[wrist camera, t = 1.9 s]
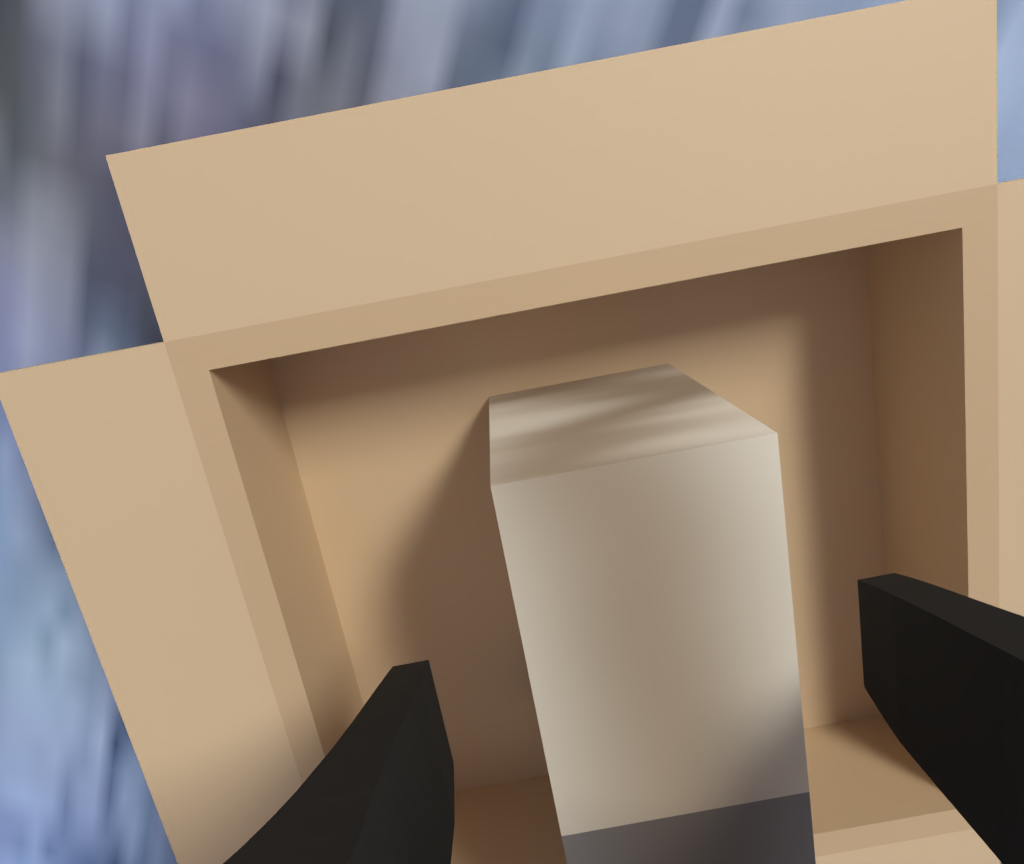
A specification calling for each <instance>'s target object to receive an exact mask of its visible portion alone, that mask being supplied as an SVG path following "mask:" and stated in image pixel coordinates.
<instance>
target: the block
mask: <svg viewBox="0 0 1024 864" xmlns="http://www.w3.org/2000/svg"><path fill="white" fill-rule="evenodd" d="M489 427H490V487H491V492H492V496H493V501H494V506H495V511H496V516H497V521H498V526H499V531H500V536H501V541H502V546H503V551H504V556H505V560H506V565H507V570H508V575H509V580H510V585H511V590H512V595H513V600H514V605H515V610H516V615H517V620H518V624H519V629H520V634H521V639H522V644H523V649H524V654H525V659H526V664H527V669H528V674H529V679H530V684H531V689H532V693H533V698H534V703H535V708H536V713H537V718H538V723H539V728H540V733H541V738H542V743H543V748H544V753H545V757H546V762H547V767H548V772H549V777H550V782H551V787H552V792H553V797H554V802H555V807H556V812H557V817H558V821H559V826H560V831H561V836H562V841H563V846H564V851H565V856H566V861H567V864H816V861H815V849H814V838H813V827H812V816H811V804H810V793H809V782H808V771H807V759H806V748H805V737H804V726H803V714H802V703H801V692H800V681H799V669H798V658H797V647H796V636H795V624H794V613H793V602H792V591H791V579H790V568H789V557H788V546H787V534H786V523H785V512H784V501H783V489H782V478H781V467H780V456H779V444H778V433H777V432H775V431H773V430H772V429H770V428H769V427H767V426H766V425H764V424H763V423H761V422H759V421H758V420H756V419H755V418H753V417H752V416H750V415H748V414H747V413H745V412H744V411H742V410H741V409H739V408H738V407H736V406H734V405H733V404H731V403H730V402H728V401H727V400H725V399H723V398H722V397H720V396H719V395H717V394H716V393H714V392H713V391H711V390H709V389H708V388H706V387H705V386H703V385H702V384H700V383H698V382H697V381H695V380H694V379H692V378H691V377H689V376H687V375H686V374H684V373H683V372H681V371H680V370H678V369H677V368H675V367H673V366H672V365H670V364H669V363H666V364H661V365H656V366H650V367H645V368H640V369H634V370H629V371H624V372H619V373H613V374H608V375H603V376H597V377H592V378H587V379H581V380H576V381H571V382H565V383H560V384H555V385H549V386H544V387H539V388H533V389H528V390H523V391H517V392H512V393H507V394H501V395H496V396H491V397H489Z"/></svg>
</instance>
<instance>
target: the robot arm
mask: <svg viewBox="0 0 1024 864" xmlns="http://www.w3.org/2000/svg"><path fill="white" fill-rule="evenodd" d="M857 581H858V597H859V613H860V629H861V645H862V662H863V678H864V687H865V689H866V691H867V692H868V694H869V695H870V697H871V699H872V700H873V702H874V703H875V705H876V707H877V708H878V710H879V711H880V713H881V715H882V716H883V718H884V719H885V721H886V722H887V724H888V725H889V727H890V728H891V730H892V731H893V733H894V734H895V736H896V737H897V739H898V740H899V742H900V743H901V744H902V745H903V746H904V748H905V749H906V750H907V751H908V753H909V754H910V755H911V756H912V757H913V759H914V760H915V761H916V762H917V763H918V765H919V766H920V767H921V768H922V769H923V771H924V772H925V773H926V774H927V775H928V777H929V778H930V779H931V780H932V781H933V783H934V784H935V785H936V786H937V787H938V788H939V790H940V791H941V792H942V793H943V794H944V795H945V797H946V798H947V799H948V800H949V801H950V803H951V804H952V805H953V806H954V807H955V808H956V810H957V811H958V812H959V813H960V814H961V815H962V817H963V818H964V819H965V820H966V821H967V822H968V824H969V825H970V826H971V827H972V828H973V830H974V831H975V832H976V833H977V834H978V835H979V837H980V838H981V839H982V840H983V841H984V842H985V844H986V845H987V846H988V847H989V848H990V850H991V851H992V852H993V853H994V854H995V855H996V857H997V858H998V859H999V860H1000V861H1001V862H1002V864H1024V616H1021V615H1018V614H1015V613H1012V612H1009V611H1006V610H1004V609H1001V608H998V607H995V606H992V605H989V604H987V603H984V602H981V601H978V600H975V599H973V598H970V597H967V596H964V595H961V594H958V593H956V592H953V591H950V590H947V589H944V588H942V587H939V586H936V585H933V584H930V583H927V582H924V581H921V580H918V579H914V578H911V577H908V576H904V575H900V574H896V573H891V574H886V575H881V576H875V577H870V578H864V579H859V580H857ZM454 825H455V800H454V762H453V758H452V754H451V750H450V746H449V741H448V737H447V733H446V729H445V725H444V721H443V717H442V713H441V709H440V705H439V700H438V696H437V692H436V688H435V684H434V680H433V676H432V672H431V668H430V664H429V660H425V661H419V662H414V663H409V664H403V665H398V666H393V667H392V668H391V669H390V671H389V672H388V673H387V675H386V676H385V677H384V679H383V680H382V681H381V683H380V684H379V686H378V687H377V688H376V690H375V691H374V692H373V694H372V695H371V697H370V698H369V699H368V701H367V702H366V704H365V705H364V706H363V708H362V709H361V710H360V712H359V713H358V715H357V716H356V717H355V719H354V720H353V722H352V723H351V724H350V725H349V727H348V728H347V729H346V731H345V732H344V733H343V735H342V736H341V737H340V739H339V740H338V741H337V743H336V744H335V745H334V747H333V748H332V749H331V750H330V752H329V753H328V754H327V755H326V756H325V757H324V759H323V760H322V761H321V762H320V763H319V765H318V766H317V767H316V768H315V769H314V771H313V772H312V773H311V774H310V775H309V777H308V778H307V779H306V780H305V781H304V783H303V784H302V785H301V786H300V787H299V789H298V790H297V791H296V792H295V793H294V794H293V795H292V796H291V797H290V799H289V800H288V801H287V802H286V803H285V804H284V805H283V806H282V807H281V808H280V809H279V810H278V811H277V812H276V813H275V815H274V816H273V817H272V818H271V819H270V820H269V821H268V822H267V823H266V824H265V825H264V826H263V827H262V828H261V829H260V830H259V831H257V832H256V833H255V834H254V835H253V836H252V837H251V838H250V839H249V840H248V841H247V842H246V843H245V844H244V845H243V846H242V847H241V848H240V849H239V850H238V851H237V852H236V853H234V854H233V855H232V856H231V857H230V858H229V859H228V860H226V861H225V862H224V863H223V864H451V856H452V846H453V836H454Z"/></svg>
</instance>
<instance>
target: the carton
mask: <svg viewBox="0 0 1024 864" xmlns="http://www.w3.org/2000/svg"><path fill="white" fill-rule="evenodd" d="M106 159H107V162H108V165H109V168H110V172H111V175H112V178H113V181H114V184H115V188H116V191H117V194H118V197H119V200H120V204H121V207H122V210H123V213H124V216H125V220H126V223H127V226H128V229H129V232H130V236H131V239H132V242H133V245H134V248H135V252H136V255H137V258H138V261H139V264H140V267H141V271H142V274H143V277H144V280H145V283H146V287H147V290H148V293H149V296H150V299H151V303H152V306H153V309H154V312H155V315H156V319H157V322H158V325H159V328H160V331H161V335H162V338H163V342H158V343H153V344H147V345H142V346H137V347H132V348H126V349H121V350H116V351H110V352H105V353H100V354H95V355H89V356H84V357H79V358H74V359H68V360H63V361H58V362H53V363H47V364H42V365H37V366H32V367H26V368H21V369H16V370H10V371H5V372H1V373H0V400H1V402H2V405H3V408H4V410H5V413H6V416H7V418H8V421H9V423H10V426H11V429H12V431H13V434H14V436H15V439H16V442H17V444H18V447H19V450H20V452H21V455H22V457H23V460H24V463H25V465H26V468H27V471H28V473H29V476H30V478H31V481H32V484H33V486H34V489H35V491H36V494H37V497H38V499H39V502H40V505H41V507H42V510H43V512H44V515H45V518H46V520H47V523H48V526H49V528H50V531H51V533H52V536H53V539H54V541H55V544H56V546H57V549H58V552H59V554H60V557H61V560H62V562H63V565H64V567H65V570H66V573H67V575H68V578H69V580H70V583H71V586H72V588H73V591H74V594H75V596H76V599H77V601H78V604H79V607H80V609H81V612H82V615H83V617H84V620H85V622H86V625H87V628H88V630H89V633H90V635H91V638H92V641H93V643H94V646H95V649H96V651H97V654H98V656H99V659H100V662H101V664H102V667H103V670H104V672H105V675H106V677H107V680H108V683H109V685H110V688H111V690H112V693H113V696H114V698H115V701H116V704H117V706H118V709H119V711H120V714H121V717H122V719H123V722H124V725H125V727H126V730H127V732H128V735H129V738H130V740H131V743H132V745H133V748H134V751H135V753H136V756H137V759H138V761H139V764H140V766H141V769H142V772H143V774H144V777H145V780H146V782H147V785H148V787H149V790H150V793H151V795H152V798H153V800H154V803H155V806H156V808H157V811H158V814H159V816H160V819H161V821H162V824H163V827H164V829H165V832H166V835H167V837H168V840H169V842H170V845H171V848H172V850H173V853H174V855H175V858H176V861H177V863H178V864H223V863H224V862H225V861H226V860H228V859H229V858H230V857H231V856H232V855H233V854H234V853H236V852H237V851H238V850H239V849H240V848H241V847H242V846H243V845H244V844H245V843H246V842H247V841H248V840H249V839H250V838H251V837H252V836H253V835H254V834H255V833H256V832H257V831H259V830H260V829H261V828H262V827H263V826H264V825H265V824H266V823H267V822H268V821H269V820H270V819H271V818H272V817H273V816H274V815H275V813H276V812H277V811H278V810H279V809H280V808H281V807H282V806H283V805H284V804H285V803H286V802H287V801H288V800H289V799H290V797H291V796H292V795H293V794H294V793H295V792H296V791H297V790H298V789H299V787H300V786H301V785H302V784H303V783H304V781H305V780H306V779H307V778H308V777H309V775H310V774H311V773H312V772H313V771H314V769H315V768H316V767H317V766H318V765H319V763H320V762H321V761H322V760H323V759H324V757H325V756H326V755H327V754H328V753H329V752H330V750H331V749H332V748H333V747H334V745H335V744H336V743H337V741H338V740H339V739H340V737H341V736H342V735H343V733H344V732H345V731H346V729H347V728H348V727H349V725H350V724H351V723H352V722H353V720H354V719H355V717H356V716H357V715H358V713H359V712H360V710H361V709H362V708H363V706H364V705H365V704H366V702H367V701H368V699H369V698H370V697H371V695H372V694H373V692H374V691H375V690H376V688H377V687H378V686H379V684H380V683H381V681H382V680H383V679H384V677H385V676H386V675H387V673H388V672H389V671H390V669H391V668H392V667H393V666H398V665H403V664H409V663H414V662H419V661H425V660H429V664H430V668H431V672H432V676H433V680H434V684H435V688H436V692H437V696H438V700H439V705H440V709H441V713H442V717H443V721H444V725H445V729H446V733H447V737H448V741H449V746H450V750H451V754H452V758H453V762H454V800H455V825H454V836H453V846H452V856H451V864H567V861H566V856H565V851H564V846H563V841H562V836H561V831H560V826H559V821H558V817H557V812H556V807H555V802H554V797H553V792H552V787H551V782H550V777H549V772H548V767H547V762H546V757H545V753H544V748H543V743H542V738H541V733H540V728H539V723H538V718H537V713H536V708H535V703H534V698H533V693H532V689H531V684H530V679H529V674H528V669H527V664H526V659H525V654H524V649H523V644H522V639H521V634H520V629H519V624H518V620H517V615H516V610H515V605H514V600H513V595H512V590H511V585H510V580H509V575H508V570H507V565H506V560H505V556H504V551H503V546H502V541H501V536H500V531H499V526H498V521H497V516H496V511H495V506H494V501H493V496H492V492H491V487H490V427H489V397H491V396H496V395H501V394H507V393H512V392H517V391H523V390H528V389H533V388H539V387H544V386H549V385H555V384H560V383H565V382H571V381H576V380H581V379H587V378H592V377H597V376H603V375H608V374H613V373H619V372H624V371H629V370H634V369H640V368H645V367H650V366H656V365H661V364H666V363H669V364H670V365H672V366H673V367H675V368H677V369H678V370H680V371H681V372H683V373H684V374H686V375H687V376H689V377H691V378H692V379H694V380H695V381H697V382H698V383H700V384H702V385H703V386H705V387H706V388H708V389H709V390H711V391H713V392H714V393H716V394H717V395H719V396H720V397H722V398H723V399H725V400H727V401H728V402H730V403H731V404H733V405H734V406H736V407H738V408H739V409H741V410H742V411H744V412H745V413H747V414H748V415H750V416H752V417H753V418H755V419H756V420H758V421H759V422H761V423H763V424H764V425H766V426H767V427H769V428H770V429H772V430H773V431H775V432H777V433H778V444H779V456H780V467H781V478H782V489H783V501H784V512H785V523H786V534H787V546H788V557H789V568H790V579H791V591H792V602H793V613H794V624H795V636H796V647H797V658H798V669H799V681H800V692H801V703H802V714H803V726H804V737H805V748H806V759H807V771H808V782H809V793H810V804H811V816H812V827H813V838H814V849H815V861H816V864H1000V860H999V859H998V858H997V857H996V855H995V854H994V853H993V852H992V851H991V850H990V848H989V847H988V846H987V845H986V844H985V842H984V841H983V840H982V839H981V838H980V837H979V835H978V834H977V833H976V832H975V831H974V830H973V828H972V827H971V826H970V825H969V824H968V822H967V821H966V820H965V819H964V818H963V817H962V815H961V814H960V813H959V812H958V811H957V810H956V808H955V807H954V806H953V805H952V804H951V803H950V801H949V800H948V799H947V798H946V797H945V795H944V794H943V793H942V792H941V791H940V790H939V788H938V787H937V786H936V785H935V784H934V783H933V781H932V780H931V779H930V778H929V777H928V775H927V774H926V773H925V772H924V771H923V769H922V768H921V767H920V766H919V765H918V763H917V762H916V761H915V760H914V759H913V757H912V756H911V755H910V754H909V753H908V751H907V750H906V749H905V748H904V746H903V745H902V744H901V743H900V742H899V740H898V739H897V737H896V736H895V734H894V733H893V731H892V730H891V728H890V727H889V725H888V724H887V722H886V721H885V719H884V718H883V716H882V715H881V713H880V711H879V710H878V708H877V707H876V705H875V703H874V702H873V700H872V699H871V697H870V695H869V694H868V692H867V691H866V689H865V687H864V678H863V662H862V645H861V629H860V613H859V597H858V581H857V580H859V579H864V578H870V577H875V576H881V575H886V574H891V573H896V574H900V575H904V576H908V577H911V578H914V579H918V580H921V581H924V582H927V583H930V584H933V585H936V586H939V587H942V588H944V589H947V590H950V591H953V592H956V593H958V594H961V595H964V596H967V597H970V598H973V599H975V600H978V601H981V602H984V603H987V604H989V605H992V606H995V607H998V608H1001V609H1004V610H1006V611H1009V612H1012V613H1015V614H1018V615H1021V616H1024V178H1021V179H1016V180H1011V181H1005V182H1000V183H997V0H907V1H902V2H897V3H891V4H886V5H881V6H876V7H871V8H866V9H860V10H855V11H850V12H845V13H840V14H835V15H829V16H824V17H819V18H814V19H809V20H804V21H798V22H793V23H788V24H783V25H778V26H773V27H767V28H762V29H757V30H752V31H747V32H742V33H736V34H731V35H726V36H721V37H716V38H711V39H705V40H700V41H695V42H690V43H685V44H680V45H674V46H669V47H664V48H659V49H654V50H649V51H644V52H638V53H633V54H628V55H623V56H618V57H613V58H607V59H602V60H597V61H592V62H587V63H582V64H576V65H571V66H566V67H561V68H556V69H551V70H545V71H540V72H535V73H530V74H525V75H520V76H514V77H509V78H504V79H499V80H494V81H489V82H483V83H478V84H473V85H468V86H463V87H458V88H452V89H447V90H442V91H437V92H432V93H427V94H421V95H416V96H411V97H406V98H401V99H396V100H390V101H385V102H380V103H375V104H370V105H365V106H359V107H354V108H349V109H344V110H339V111H334V112H328V113H323V114H318V115H313V116H308V117H303V118H297V119H292V120H287V121H282V122H277V123H272V124H267V125H261V126H256V127H251V128H246V129H241V130H236V131H230V132H225V133H220V134H215V135H210V136H205V137H199V138H194V139H189V140H184V141H179V142H174V143H168V144H163V145H158V146H153V147H148V148H143V149H137V150H132V151H127V152H122V153H117V154H112V155H106Z"/></svg>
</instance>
